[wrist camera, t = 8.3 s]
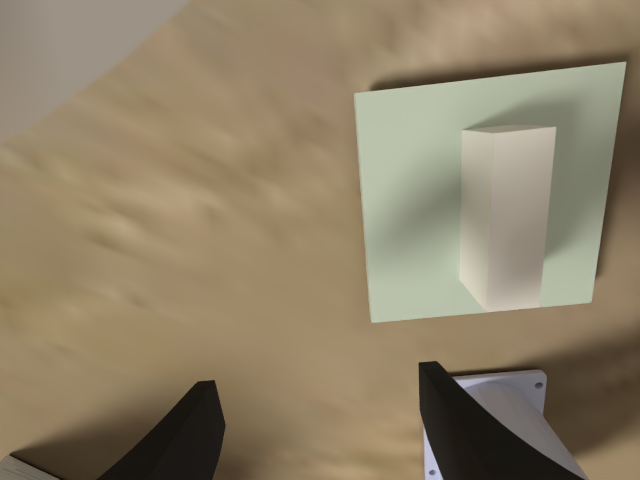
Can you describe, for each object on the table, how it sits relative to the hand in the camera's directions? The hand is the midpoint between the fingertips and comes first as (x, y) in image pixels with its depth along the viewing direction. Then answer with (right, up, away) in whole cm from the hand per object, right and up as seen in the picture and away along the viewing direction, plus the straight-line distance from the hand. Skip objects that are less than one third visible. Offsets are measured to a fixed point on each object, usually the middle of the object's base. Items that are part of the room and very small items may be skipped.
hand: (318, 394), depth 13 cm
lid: (+8, +7, +7) cm, 13 cm away
